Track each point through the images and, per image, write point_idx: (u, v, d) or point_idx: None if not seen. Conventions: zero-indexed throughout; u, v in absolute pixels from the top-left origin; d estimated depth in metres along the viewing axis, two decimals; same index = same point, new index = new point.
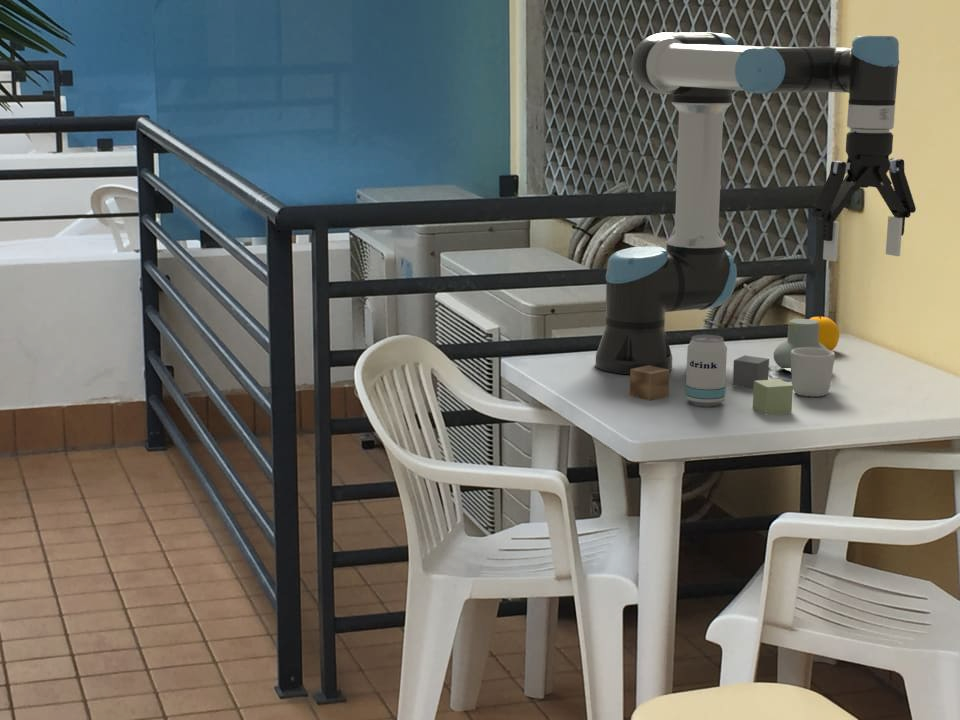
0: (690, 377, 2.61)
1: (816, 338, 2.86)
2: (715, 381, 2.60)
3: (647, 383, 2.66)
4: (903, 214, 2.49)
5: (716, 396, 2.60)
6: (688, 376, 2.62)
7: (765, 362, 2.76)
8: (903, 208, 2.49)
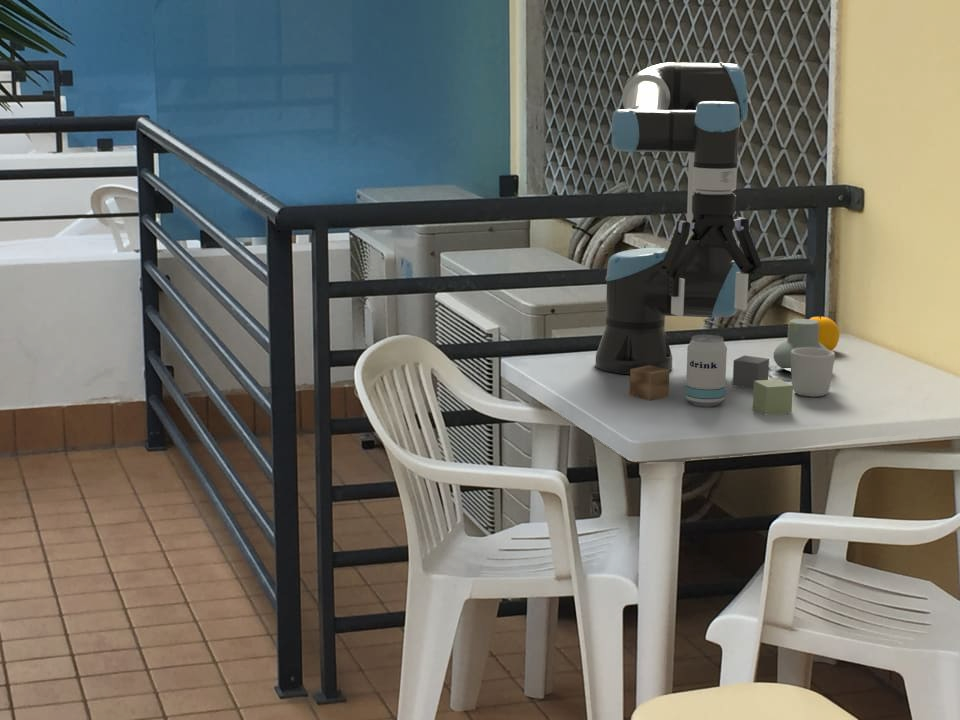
0: (690, 377, 2.61)
1: (816, 338, 2.86)
2: (715, 381, 2.60)
3: (647, 383, 2.66)
4: (749, 270, 2.61)
5: (716, 396, 2.60)
6: (688, 376, 2.62)
7: (765, 362, 2.76)
8: (749, 264, 2.61)
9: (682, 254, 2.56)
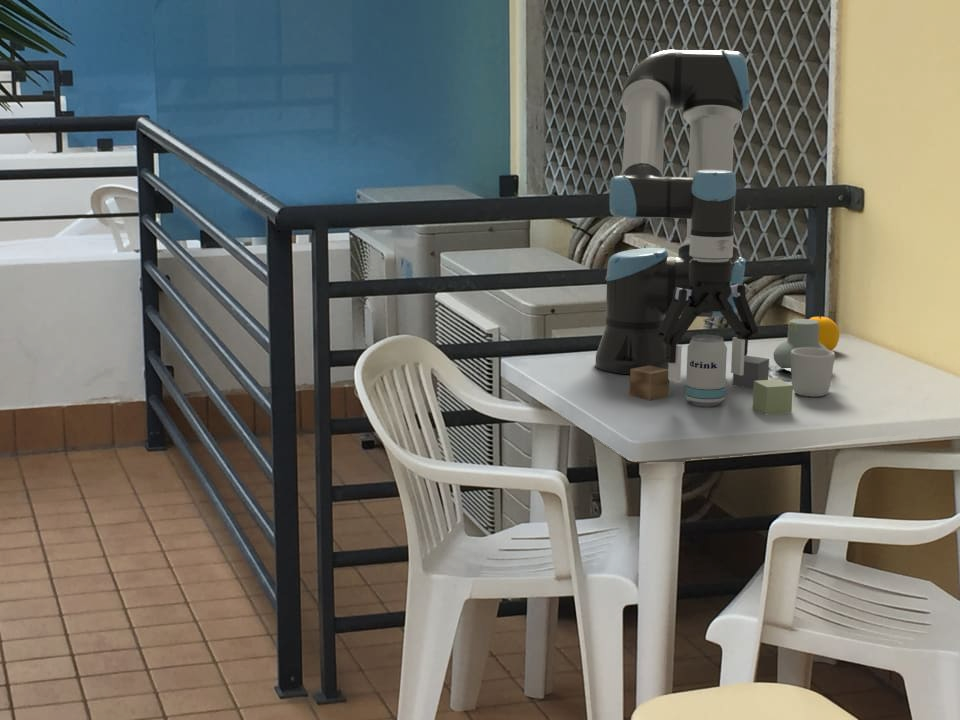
0: (690, 377, 2.61)
1: (816, 338, 2.86)
2: (715, 381, 2.60)
3: (647, 383, 2.66)
4: (745, 336, 2.63)
5: (716, 396, 2.60)
6: (688, 376, 2.62)
7: (765, 362, 2.76)
8: (745, 330, 2.63)
9: (679, 321, 2.58)
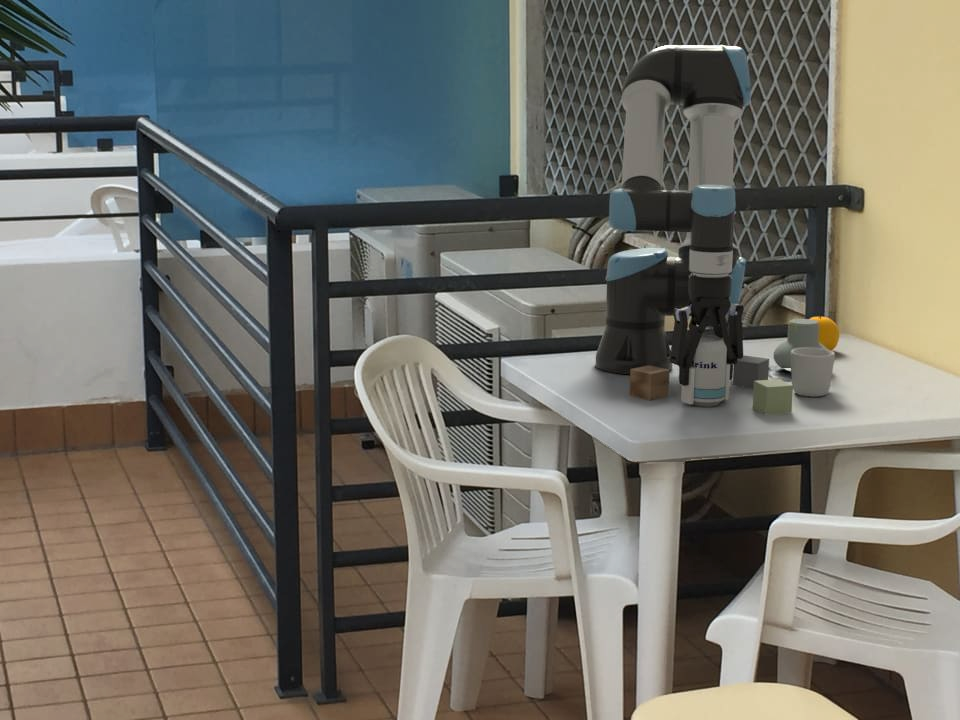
0: None
1: (816, 338, 2.86)
2: (715, 381, 2.60)
3: (647, 383, 2.66)
4: (730, 360, 2.63)
5: (716, 395, 2.60)
6: None
7: (765, 362, 2.76)
8: (732, 354, 2.63)
9: (686, 341, 2.60)
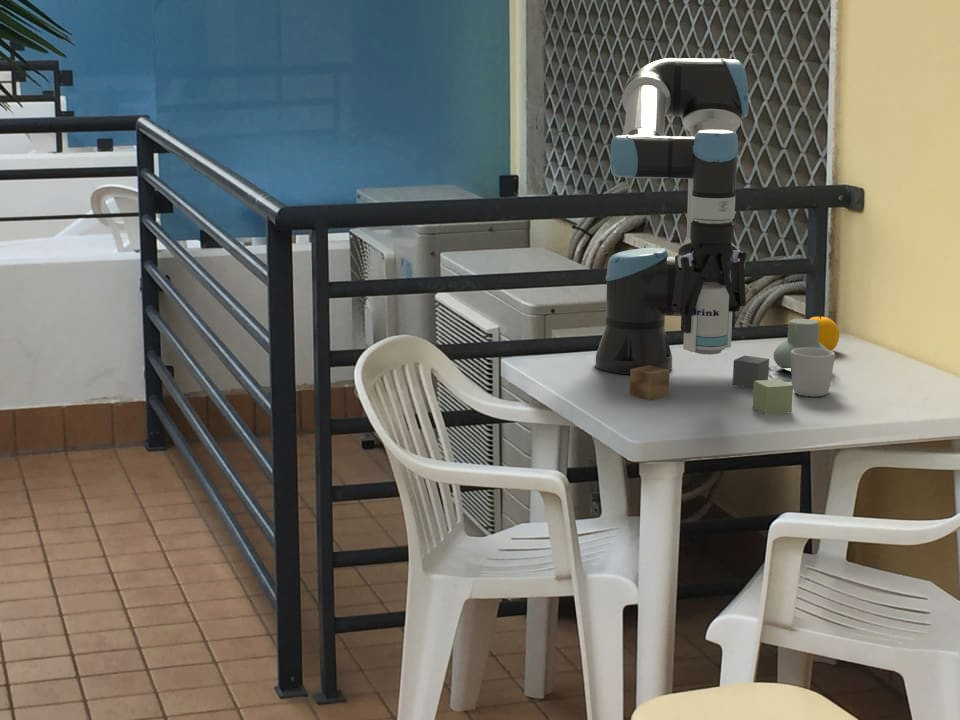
0: None
1: (816, 338, 2.86)
2: (717, 329, 2.58)
3: (647, 383, 2.66)
4: (733, 307, 2.61)
5: (718, 343, 2.59)
6: None
7: (765, 362, 2.76)
8: (734, 302, 2.61)
9: (688, 288, 2.58)
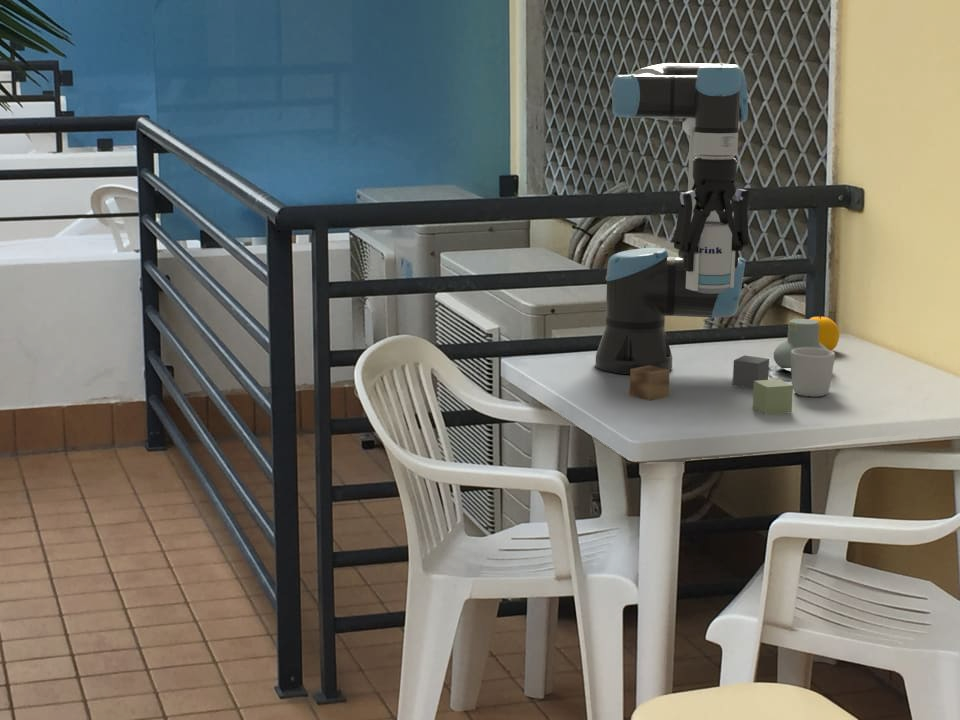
0: None
1: (816, 338, 2.86)
2: (720, 267, 2.55)
3: (647, 383, 2.66)
4: (736, 247, 2.58)
5: (721, 282, 2.56)
6: None
7: (765, 362, 2.76)
8: (737, 241, 2.58)
9: (691, 226, 2.56)
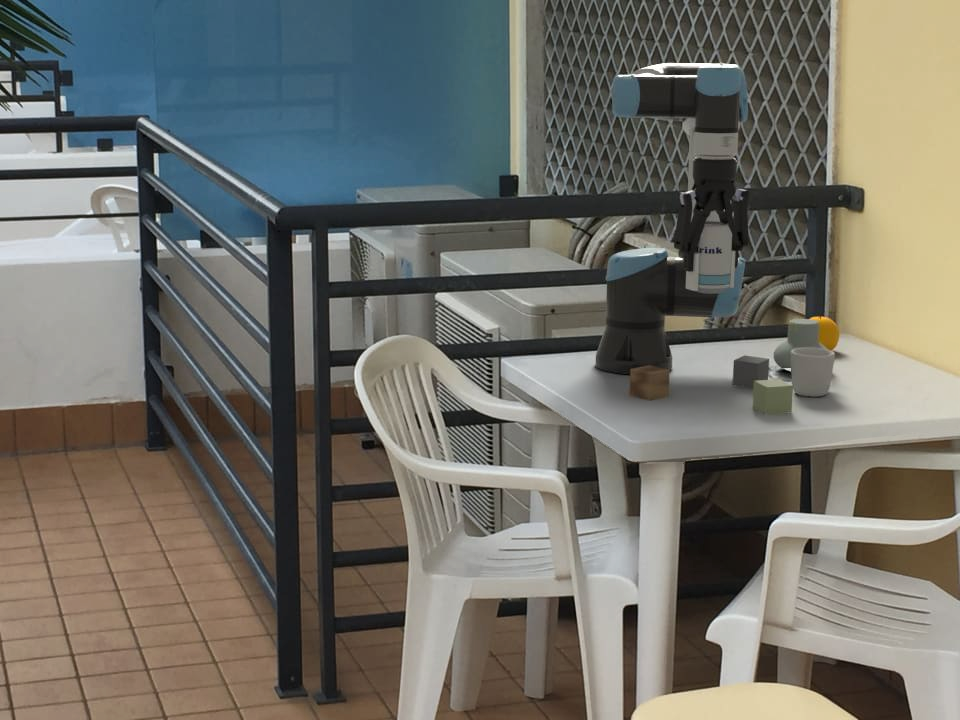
0: None
1: (816, 338, 2.86)
2: (720, 267, 2.55)
3: (647, 383, 2.66)
4: (736, 247, 2.58)
5: (721, 282, 2.56)
6: None
7: (765, 362, 2.76)
8: (737, 241, 2.58)
9: (691, 226, 2.56)
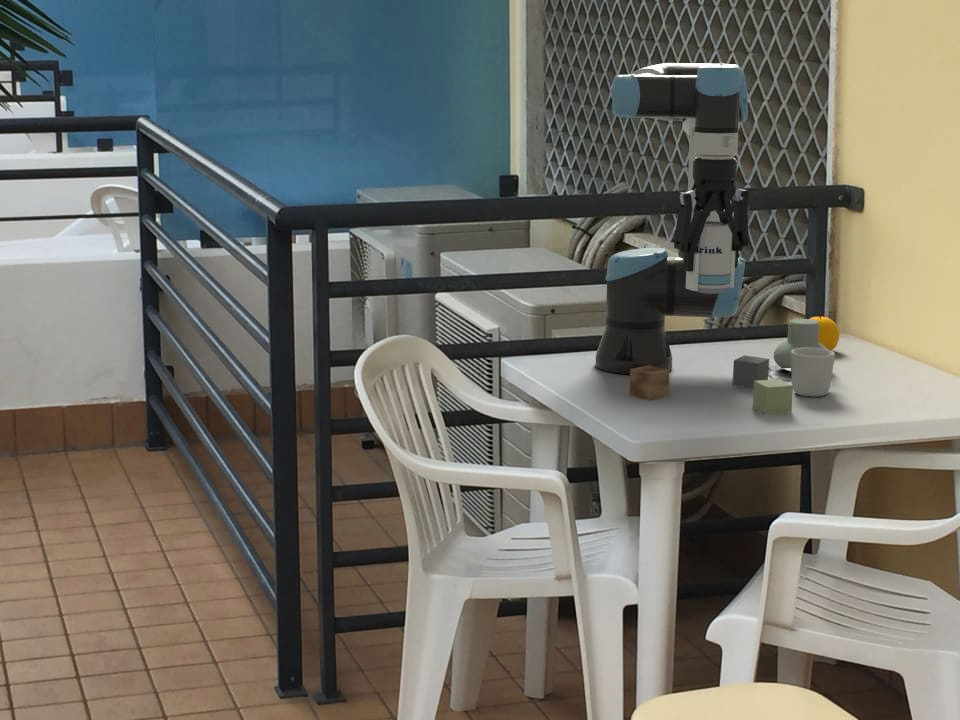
0: None
1: (816, 338, 2.86)
2: (720, 267, 2.55)
3: (647, 383, 2.66)
4: (736, 247, 2.58)
5: (721, 282, 2.56)
6: None
7: (765, 362, 2.76)
8: (737, 241, 2.58)
9: (691, 226, 2.56)
